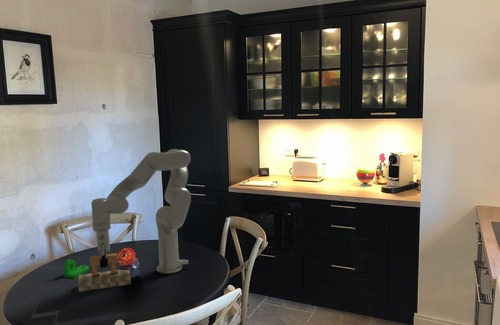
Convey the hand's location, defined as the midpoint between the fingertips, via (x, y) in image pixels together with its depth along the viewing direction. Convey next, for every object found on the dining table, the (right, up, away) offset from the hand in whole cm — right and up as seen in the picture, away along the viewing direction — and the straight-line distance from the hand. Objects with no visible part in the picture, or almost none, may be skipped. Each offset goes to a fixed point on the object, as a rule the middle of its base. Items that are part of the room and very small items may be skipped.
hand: (104, 265), depth 187 cm
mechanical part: (-18, -9, +16) cm, 26 cm away
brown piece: (0, -4, 0) cm, 4 cm away
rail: (0, -9, +1) cm, 9 cm away
